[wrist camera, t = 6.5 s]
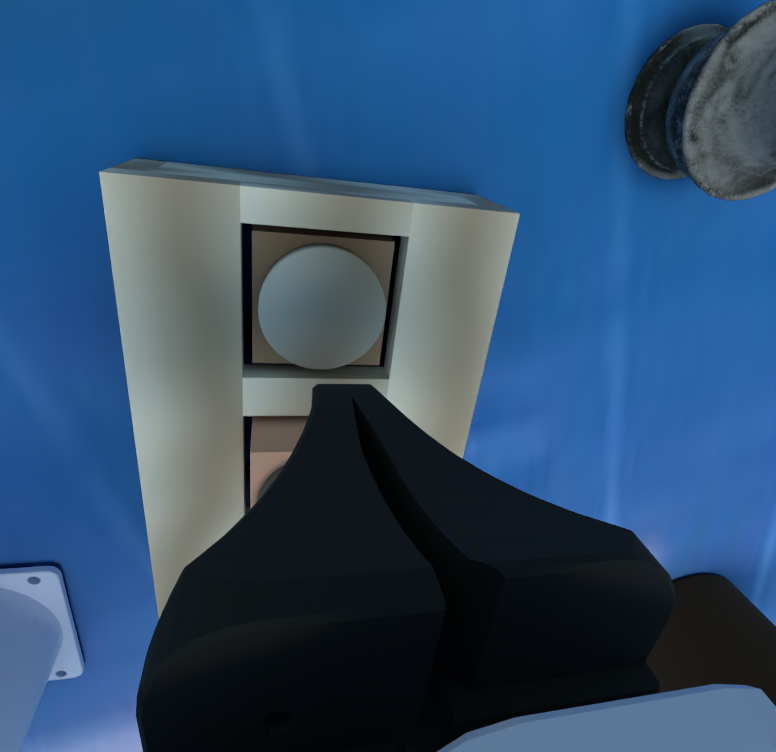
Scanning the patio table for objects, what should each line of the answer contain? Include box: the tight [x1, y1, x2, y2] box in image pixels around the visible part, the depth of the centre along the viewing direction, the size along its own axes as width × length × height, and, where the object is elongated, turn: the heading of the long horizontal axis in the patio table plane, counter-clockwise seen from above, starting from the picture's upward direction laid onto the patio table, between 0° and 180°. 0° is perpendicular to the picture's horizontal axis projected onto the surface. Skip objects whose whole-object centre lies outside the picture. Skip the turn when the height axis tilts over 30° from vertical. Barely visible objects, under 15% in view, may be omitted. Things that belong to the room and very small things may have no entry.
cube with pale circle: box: [252, 224, 395, 369], centre depth 17 cm, size 4×4×4 cm
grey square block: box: [99, 158, 520, 618], centre depth 20 cm, size 12×20×4 cm, turn 172°
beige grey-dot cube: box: [250, 416, 308, 509], centre depth 18 cm, size 4×4×4 cm
